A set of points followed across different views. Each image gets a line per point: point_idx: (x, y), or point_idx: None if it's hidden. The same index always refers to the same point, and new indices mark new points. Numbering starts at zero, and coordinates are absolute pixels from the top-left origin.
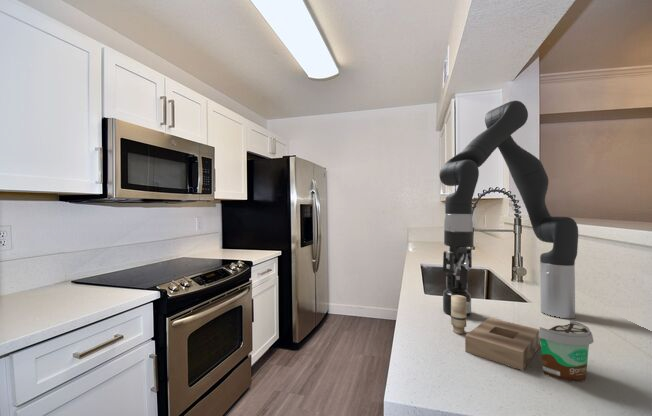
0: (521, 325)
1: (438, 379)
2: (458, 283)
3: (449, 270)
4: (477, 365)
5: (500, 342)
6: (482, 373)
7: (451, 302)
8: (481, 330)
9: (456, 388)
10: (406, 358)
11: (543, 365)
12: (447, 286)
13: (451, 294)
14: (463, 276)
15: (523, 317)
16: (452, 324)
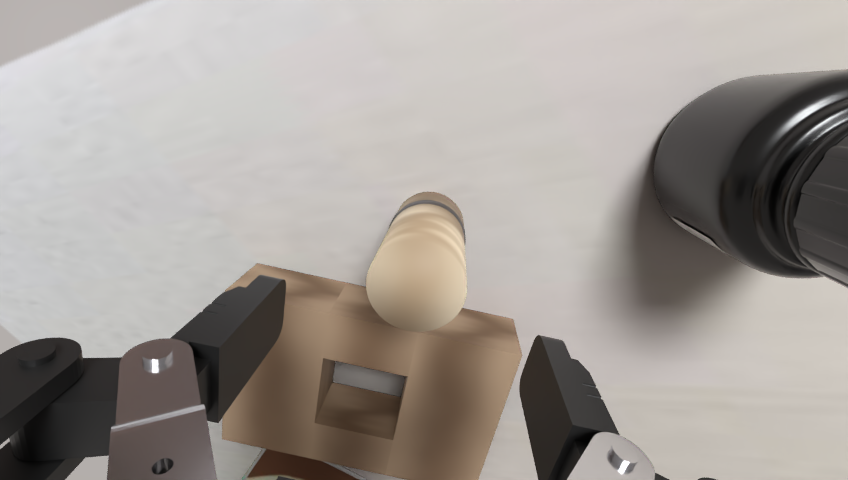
0: (483, 450)
1: (27, 224)
2: (837, 244)
3: (14, 435)
4: (191, 303)
5: (250, 391)
6: (156, 317)
7: (394, 233)
8: (321, 336)
9: (30, 271)
10: (47, 97)
11: (260, 452)
12: (261, 275)
13: (752, 161)
14: (541, 408)
15: (778, 424)
16: (404, 202)
